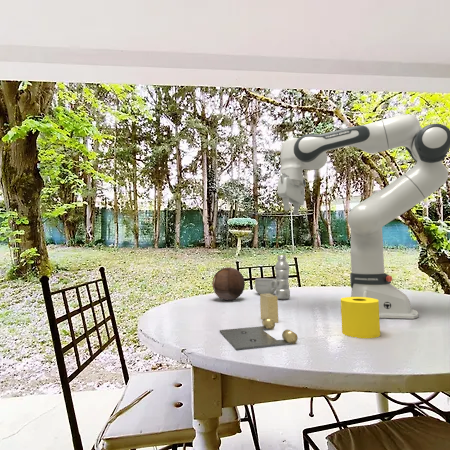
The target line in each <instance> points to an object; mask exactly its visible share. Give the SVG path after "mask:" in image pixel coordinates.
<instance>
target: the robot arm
mask: <svg viewBox="0 0 450 450" xmlns="http://www.w3.org/2000/svg"><path fill="white" fill-rule="evenodd" d="M346 147H347V148H348V147H352V148H357V149H360V150H361V151H363V152H365V153H367V154H374V153H382V152H385V151H388V150H393V149H396V148H401V147H405V149H406V151H407V153H408V154H409V155H410V157H411V159H412V160H413V161H414V162H415V165H413V167H411V168H410V169H409V170H408V171H406V172H404V173H403V174H402V175H401V176H399V177H398V178H396V179H395V180H393V181H392V182H391V183H389V184H388V185H386V186H385V187H384V188H382V189H381V190H378V191H377V192H376V193H374V194H372V195H370V196H368V197H367V198H366V199H364V200H363V201H362V202H360V203H357V205H355V206H353V208H352V209H351V210H350V211H349V213H348V215H347V223H348V226H349V227H350V267H351V268H350V269H351V273H350V276H349V280H350V281H349V283H350V288H351V294H350V295H351V296H350V297H367V298H374V299H377V300H379V319H380V318H381V319H405V320H406V319H407V320H409V319H412V320H414V319H417V318H419V312H418V311H417V310H416V309H414V308H412V305H411V302H410V299H409V297H408V296H407V294H405V293H404V292H402V291H401V290H400V289H399V288H397V287H396V286H394V285H393V284H392V281H393V276H391V275H390V274H387V273H386V272H385V264H384V263H385V260H384V256H385V255H384V242H383V241H384V240H383V237H384V236H383V227H384V226H386V225H388V224H389V223H390V222H392V221H394V220H395V219H397V218H398V217H400V216H402V215H403V214H404V213H406V212H408V211H409V210H410V209H412V208H414V207H415V206H416V205H418V204H420V203H421V202H423V201H424V200H425V199H427V198H428V197H430V196H431V195H432V194H434V193H435V192H436V191H437V190H439V189H440V188H441V187H442V186H443V185H444V184H445V183H446V182H447V180H448V178H449V172H448V169H447V167H446V166H445V165H444V163H443V162H442V161H443V160H445V159H446V156H447V154H448V152H449V150H450V128H449V127H448V126H446V125H444V124H441V123H430V124H428V125H425V126H424V127H422V126H421V124H420V121H419V120H418V118H417V117H416V115H414V114H411V113H410V114H409V113H407V114H400V115H394V116H389V117H387V118H384V119H381V120H377V121H373V122H370V123H366V124H361V125H360V124H359V125H355V126H350V127H346V128H342V129H341V128H340V129H337V130H333V131H329V132H325V133H319V134H318V133H305V134H303V135H302V136H299V137H290V138H288V139H286V140H284V141H283V143H282V144H281V148H280V149H281V150H280V159H279V160H280V166H281V168H280V171H279V172H280V173H279V174H280V176H279V177H280V178H279V179H278V182H277V192H276V193H277V196H278V197H279V198H281V199H282V203H283V210H285V211H287V212H288V211H290V208H291V206H290V204H289V203H291V204H293V210H292V214H293V215H295V216H296V215H299V210H300V206H304V204H305V198H306V197H305V196H306V195H305V194H306V191H305V190H306V189H305V187H307V183H306V180H305V178H304V173H303V172H304V171H303V170H307V171H317V170H320V169H322V168H323V167H324V166H326V164H327V161H328V154H327V152H329V151H334V150H338V149H342V148H346Z"/></svg>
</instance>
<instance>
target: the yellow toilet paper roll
mask: <svg viewBox="0 0 450 450" xmlns="http://www.w3.org/2000/svg"><path fill="white" fill-rule="evenodd" d="M340 311H341V312H340V314H341V315H340V316H341V332H342V334H343V335H344V334H345V336H346V335H347V337H350V336H351V337H350V338H355V337H357V338H356V339H375V338H376V337H377V338H379V337H381V322H380V318H379V300H377V299H374V298H367V297H351V296H347V297H341V298H340Z"/></svg>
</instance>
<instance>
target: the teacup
mask: <svg viewBox="0 0 450 450" xmlns="http://www.w3.org/2000/svg"><path fill="white" fill-rule="evenodd" d="M254 280H255V281H254V289H255V291H256V293H258V295H260V294H268V293H270V294H272V295H274V293H275V292H276V282H277V281H276V278H267V277H266V278H265V277H263V278H261V277H260V278H255V279H254Z"/></svg>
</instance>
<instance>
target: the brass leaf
mask: <svg viewBox="0 0 450 450" xmlns="http://www.w3.org/2000/svg"><path fill="white" fill-rule="evenodd" d="M278 300H279V299H278V298H277V296H276V295H274V294H270V293H268V294H259V301H260V303H259V305H260V306H259V307H260V319H261V320H262V321H263V319H264V318H269V319H271V320H273V321H274V322H275V324H276V323H279V305H278V302H279V301H278Z"/></svg>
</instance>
